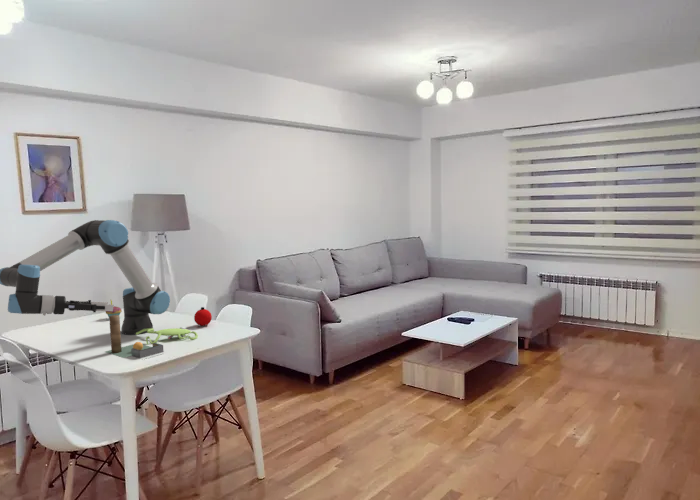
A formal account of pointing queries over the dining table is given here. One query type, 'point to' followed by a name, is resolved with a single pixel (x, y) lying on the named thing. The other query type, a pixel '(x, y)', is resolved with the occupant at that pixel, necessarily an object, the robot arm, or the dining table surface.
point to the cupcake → (114, 311)
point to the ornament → (202, 317)
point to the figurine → (169, 333)
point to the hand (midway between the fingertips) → (110, 306)
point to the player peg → (115, 334)
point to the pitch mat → (126, 351)
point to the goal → (147, 351)
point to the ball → (138, 346)
